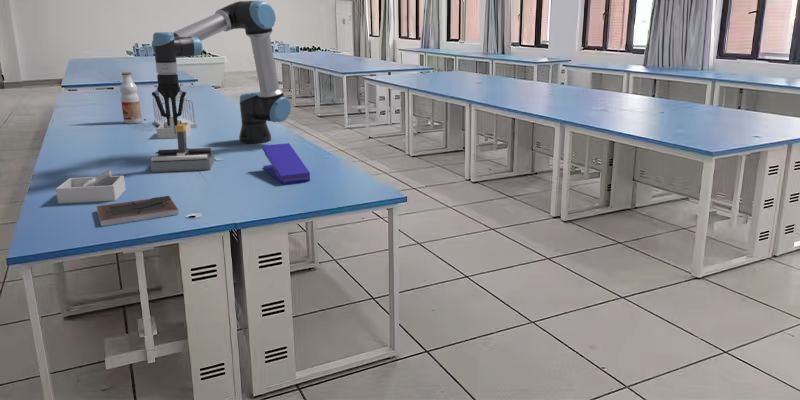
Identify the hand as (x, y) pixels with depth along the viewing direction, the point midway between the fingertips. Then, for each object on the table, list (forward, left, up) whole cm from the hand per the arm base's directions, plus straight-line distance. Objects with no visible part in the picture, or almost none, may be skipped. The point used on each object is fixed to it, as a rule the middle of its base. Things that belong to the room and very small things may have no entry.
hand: (173, 133), depth 242 cm
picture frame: (+2, +60, -14) cm, 62 cm away
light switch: (+21, +38, -14) cm, 46 cm away
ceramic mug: (+12, -68, -14) cm, 71 cm away
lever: (-3, 0, -8) cm, 9 cm away
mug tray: (+12, -70, -13) cm, 72 cm away
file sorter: (+17, -101, -14) cm, 103 cm away
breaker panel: (-3, 0, -13) cm, 14 cm away
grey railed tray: (-2, 0, -9) cm, 10 cm away
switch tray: (+21, +38, -13) cm, 46 cm away
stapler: (-43, +21, -14) cm, 50 cm away
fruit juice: (+42, -115, -14) cm, 123 cm away
